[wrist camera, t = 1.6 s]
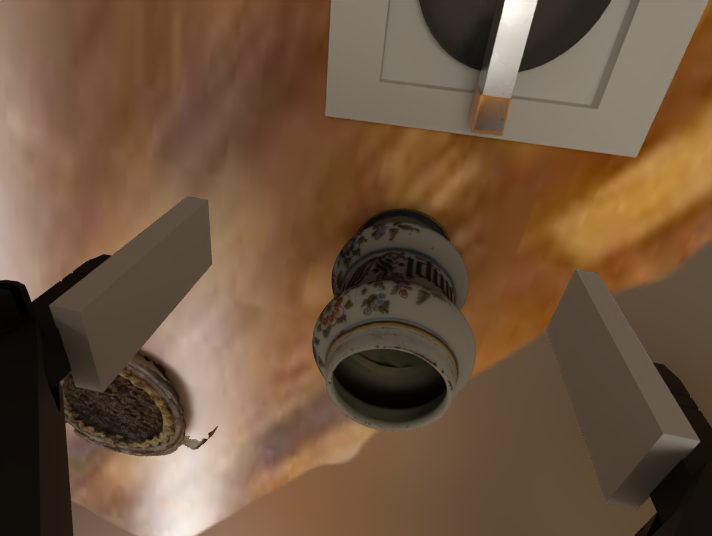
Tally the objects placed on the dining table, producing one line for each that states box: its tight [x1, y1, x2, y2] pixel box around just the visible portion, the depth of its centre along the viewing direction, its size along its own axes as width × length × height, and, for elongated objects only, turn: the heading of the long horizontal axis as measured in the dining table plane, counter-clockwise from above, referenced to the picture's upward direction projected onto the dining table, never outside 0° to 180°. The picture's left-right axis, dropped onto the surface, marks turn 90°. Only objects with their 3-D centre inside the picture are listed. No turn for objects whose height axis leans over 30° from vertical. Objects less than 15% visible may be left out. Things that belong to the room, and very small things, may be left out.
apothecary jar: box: [312, 209, 476, 431], centre depth 35 cm, size 12×12×18 cm
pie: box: [60, 353, 218, 456], centre depth 60 cm, size 28×27×5 cm
